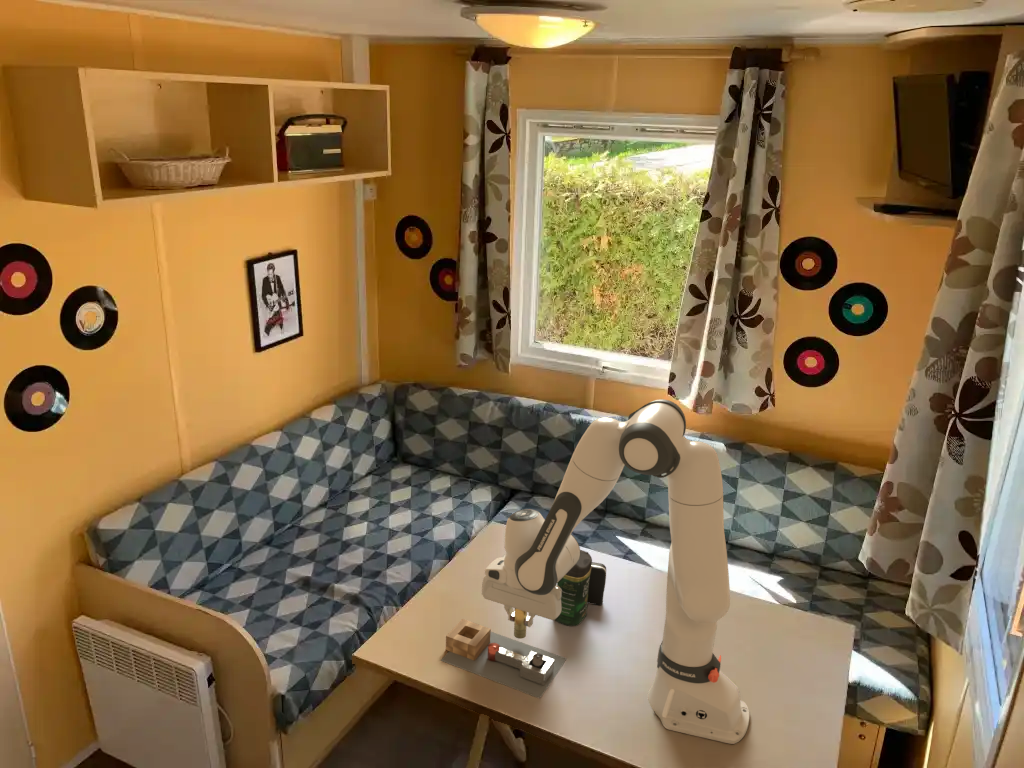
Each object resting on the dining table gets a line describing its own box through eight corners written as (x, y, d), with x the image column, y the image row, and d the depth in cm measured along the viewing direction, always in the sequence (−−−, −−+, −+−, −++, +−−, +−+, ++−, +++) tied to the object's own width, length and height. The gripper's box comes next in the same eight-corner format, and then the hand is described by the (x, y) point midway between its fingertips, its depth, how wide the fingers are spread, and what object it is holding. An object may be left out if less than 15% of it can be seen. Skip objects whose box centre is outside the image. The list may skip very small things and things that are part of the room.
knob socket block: (553, 670, 186) (554, 659, 185) (543, 685, 181) (544, 674, 180) (493, 648, 193) (494, 637, 192) (482, 662, 187) (482, 651, 186)
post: (543, 673, 185) (544, 655, 184) (539, 679, 183) (540, 661, 182) (534, 669, 186) (535, 652, 185) (529, 675, 184) (531, 657, 183)
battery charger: (604, 598, 217) (607, 562, 214) (602, 606, 214) (606, 569, 210) (578, 594, 218) (582, 558, 215) (577, 602, 215) (580, 565, 211)
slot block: (490, 642, 195) (490, 628, 194) (474, 660, 188) (475, 646, 187) (461, 632, 198) (462, 618, 197) (445, 649, 192) (446, 635, 190)
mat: (566, 660, 191) (566, 658, 191) (539, 700, 177) (539, 698, 177) (472, 627, 202) (473, 625, 201) (440, 662, 188) (440, 660, 188)
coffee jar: (577, 631, 202) (583, 568, 197) (549, 621, 206) (554, 559, 200) (590, 612, 211) (596, 551, 205) (563, 603, 214) (568, 542, 208)
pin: (528, 633, 194) (529, 601, 191) (522, 640, 192) (523, 608, 189) (517, 629, 196) (518, 598, 193) (511, 636, 193) (512, 604, 190)
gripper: (567, 578, 186) (564, 628, 191) (491, 556, 195) (490, 604, 199) (556, 591, 181) (553, 642, 185) (478, 568, 190) (478, 617, 194)
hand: (520, 622), depth 193 cm, fingers closed on pin, 3 cm apart
